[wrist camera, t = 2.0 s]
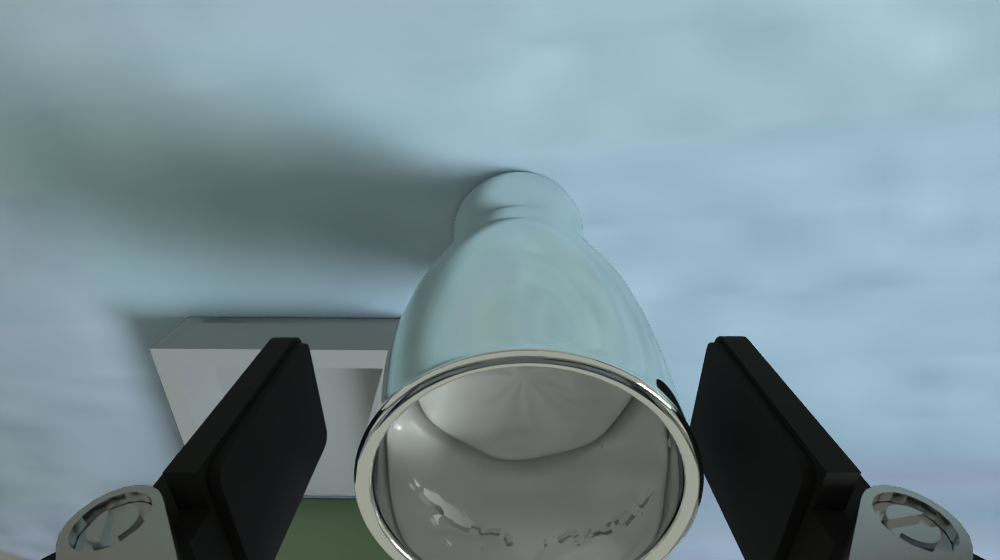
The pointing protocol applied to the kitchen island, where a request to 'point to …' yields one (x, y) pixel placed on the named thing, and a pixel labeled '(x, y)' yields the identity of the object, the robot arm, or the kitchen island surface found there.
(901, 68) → the kitchen island surface
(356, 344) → the push button box
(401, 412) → the beer glass
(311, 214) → the kitchen island surface
